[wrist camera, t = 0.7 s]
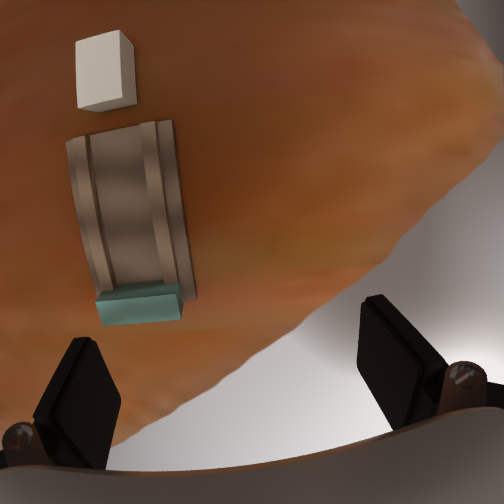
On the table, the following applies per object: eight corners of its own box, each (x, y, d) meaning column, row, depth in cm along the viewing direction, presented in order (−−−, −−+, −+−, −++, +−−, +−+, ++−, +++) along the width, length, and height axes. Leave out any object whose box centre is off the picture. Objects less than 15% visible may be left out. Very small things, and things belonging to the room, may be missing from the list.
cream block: (95, 55, 27) (75, 41, 22) (133, 46, 28) (119, 29, 22) (98, 112, 30) (77, 108, 24) (137, 104, 30) (122, 97, 24)
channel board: (71, 141, 30) (49, 142, 25) (173, 120, 31) (165, 116, 26) (104, 303, 37) (91, 326, 32) (197, 294, 38) (195, 317, 33)
